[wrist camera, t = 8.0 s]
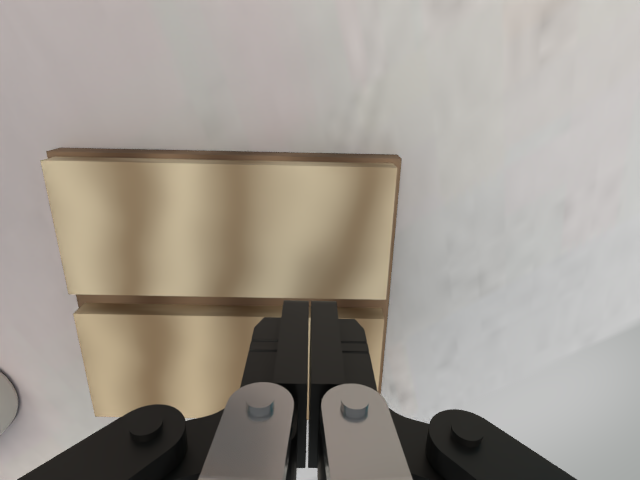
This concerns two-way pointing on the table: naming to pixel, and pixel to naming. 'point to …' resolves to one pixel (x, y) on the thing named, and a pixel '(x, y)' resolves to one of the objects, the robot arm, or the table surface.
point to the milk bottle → (7, 403)
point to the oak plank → (222, 227)
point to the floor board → (195, 322)
